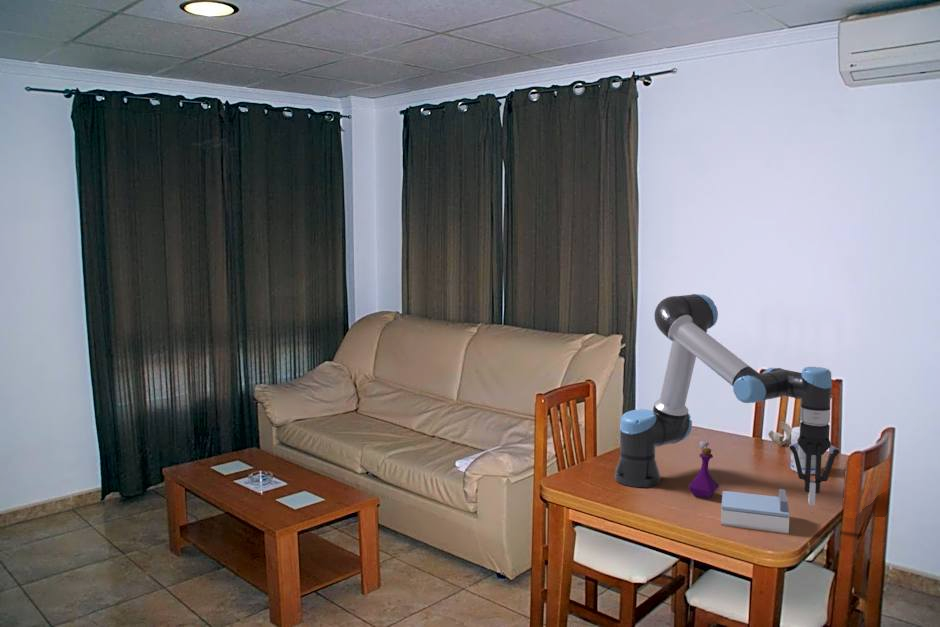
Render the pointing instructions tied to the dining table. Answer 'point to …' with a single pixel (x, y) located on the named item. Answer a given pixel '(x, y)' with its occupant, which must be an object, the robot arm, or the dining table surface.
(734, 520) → the storage box
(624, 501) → the dining table surface
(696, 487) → the perfume bottle
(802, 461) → the supplement tub
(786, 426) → the beige irregular lump
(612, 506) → the dining table surface
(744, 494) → the lid
